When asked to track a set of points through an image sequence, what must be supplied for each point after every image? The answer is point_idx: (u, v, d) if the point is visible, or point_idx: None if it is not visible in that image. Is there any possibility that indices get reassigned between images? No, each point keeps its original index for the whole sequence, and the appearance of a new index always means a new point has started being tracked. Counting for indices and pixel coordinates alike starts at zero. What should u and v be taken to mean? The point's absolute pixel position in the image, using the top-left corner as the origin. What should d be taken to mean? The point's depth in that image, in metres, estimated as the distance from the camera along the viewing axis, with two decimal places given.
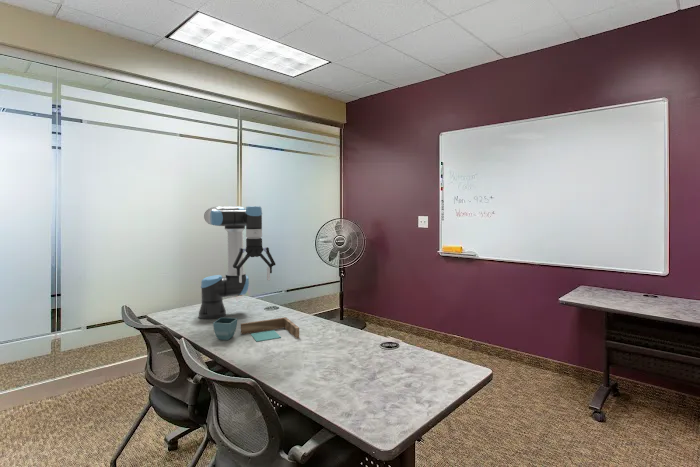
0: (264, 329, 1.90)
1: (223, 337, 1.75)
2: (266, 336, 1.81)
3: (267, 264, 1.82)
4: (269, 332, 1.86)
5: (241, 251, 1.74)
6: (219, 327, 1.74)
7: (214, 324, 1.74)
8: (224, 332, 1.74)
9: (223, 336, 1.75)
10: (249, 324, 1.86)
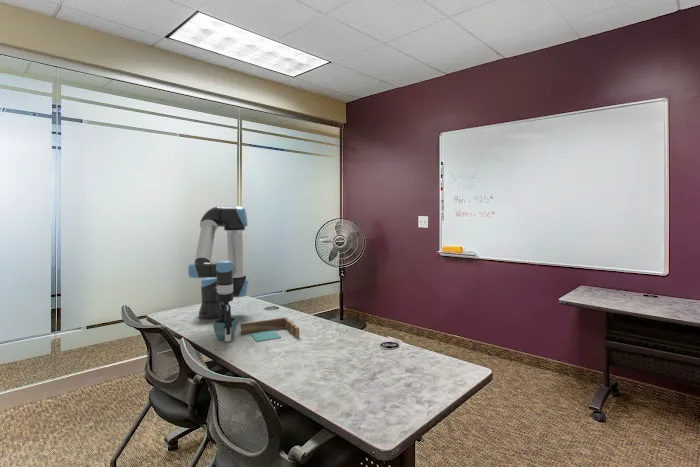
0: (264, 329, 1.90)
1: (223, 337, 1.75)
2: (266, 336, 1.81)
3: (229, 324, 1.73)
4: (269, 332, 1.86)
5: (220, 303, 1.83)
6: (219, 327, 1.74)
7: (214, 324, 1.74)
8: (224, 332, 1.74)
9: (223, 336, 1.75)
10: (249, 324, 1.86)
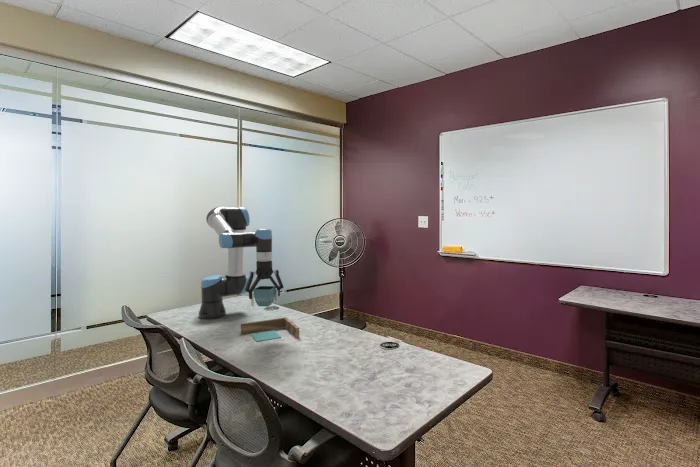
0: (264, 329, 1.90)
1: (271, 302, 1.81)
2: (266, 336, 1.81)
3: None
4: (269, 332, 1.86)
5: (252, 274, 1.76)
6: (272, 292, 1.79)
7: (270, 291, 1.76)
8: (273, 296, 1.82)
9: (271, 301, 1.81)
10: (249, 324, 1.86)
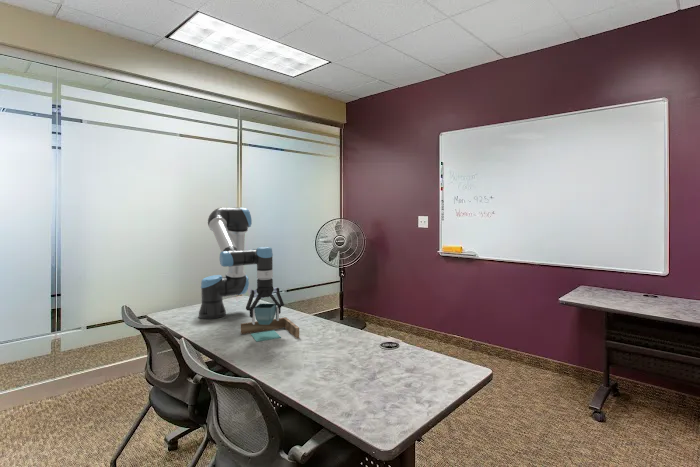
0: (264, 329, 1.90)
1: (272, 320, 1.81)
2: (266, 336, 1.81)
3: (276, 304, 1.84)
4: (269, 332, 1.86)
5: (252, 293, 1.76)
6: (272, 310, 1.80)
7: (271, 309, 1.77)
8: (274, 314, 1.82)
9: (272, 319, 1.81)
10: (249, 324, 1.86)
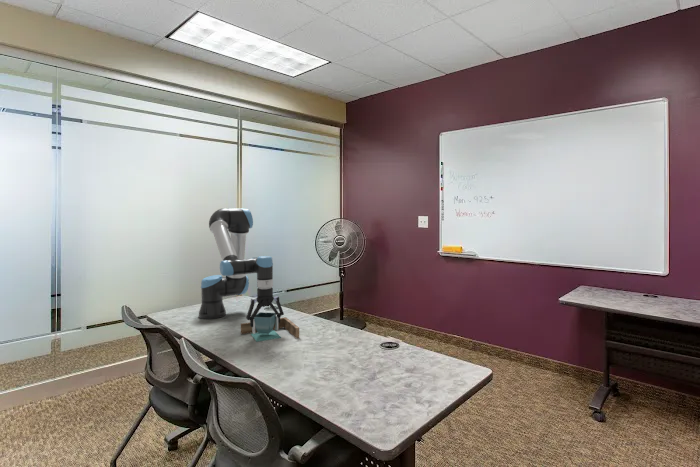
0: None
1: (271, 329, 1.82)
2: (266, 336, 1.81)
3: None
4: None
5: (253, 302, 1.77)
6: (272, 320, 1.80)
7: (271, 318, 1.77)
8: (273, 323, 1.82)
9: (272, 328, 1.82)
10: (249, 324, 1.86)
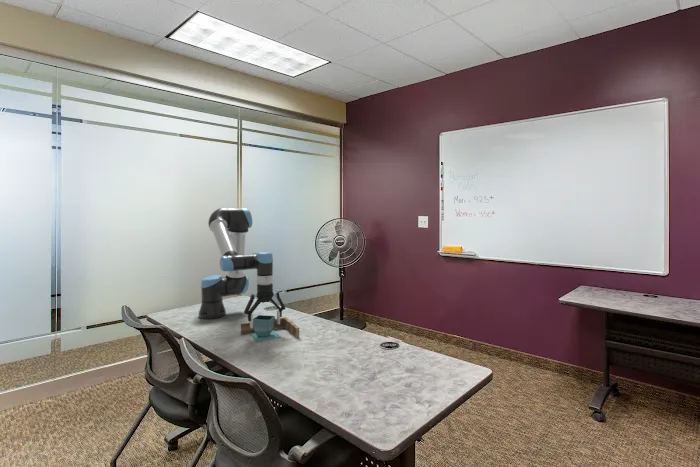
0: None
1: (270, 332, 1.81)
2: None
3: (277, 308, 1.85)
4: None
5: (252, 297, 1.77)
6: (271, 322, 1.80)
7: (270, 321, 1.77)
8: (272, 326, 1.82)
9: (270, 331, 1.81)
10: (249, 324, 1.86)
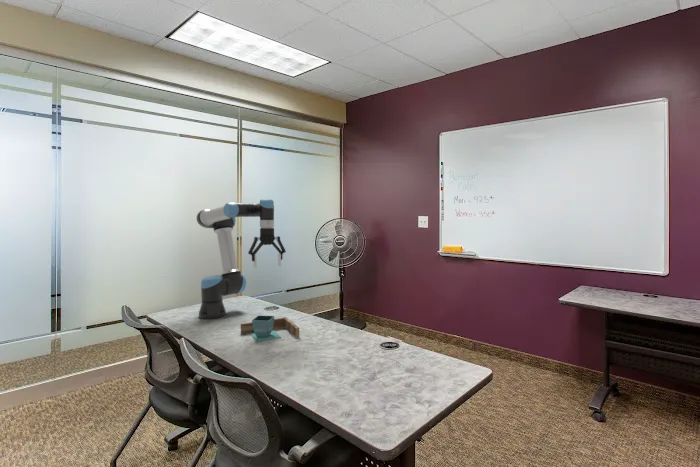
0: None
1: (270, 332, 1.81)
2: None
3: (278, 251, 2.04)
4: None
5: (256, 239, 1.96)
6: (271, 323, 1.79)
7: (269, 322, 1.77)
8: (272, 326, 1.82)
9: (270, 331, 1.81)
10: (249, 324, 1.86)
